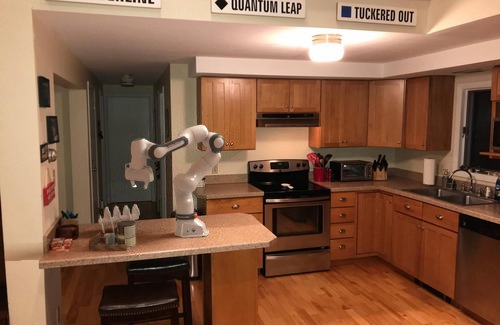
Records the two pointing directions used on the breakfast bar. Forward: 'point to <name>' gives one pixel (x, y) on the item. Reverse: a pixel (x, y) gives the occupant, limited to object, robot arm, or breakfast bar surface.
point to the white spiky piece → (118, 216)
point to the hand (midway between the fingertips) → (139, 188)
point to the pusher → (110, 238)
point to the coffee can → (126, 233)
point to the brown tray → (98, 239)
